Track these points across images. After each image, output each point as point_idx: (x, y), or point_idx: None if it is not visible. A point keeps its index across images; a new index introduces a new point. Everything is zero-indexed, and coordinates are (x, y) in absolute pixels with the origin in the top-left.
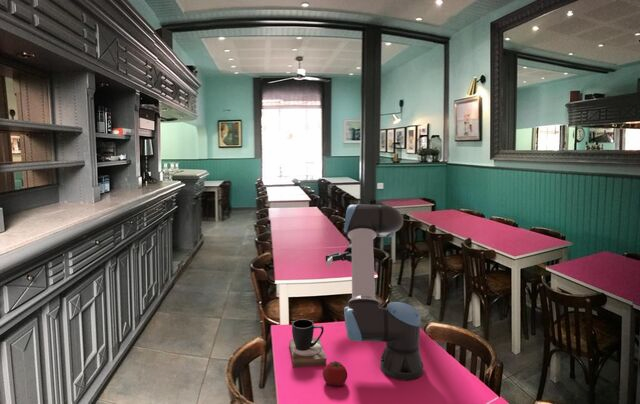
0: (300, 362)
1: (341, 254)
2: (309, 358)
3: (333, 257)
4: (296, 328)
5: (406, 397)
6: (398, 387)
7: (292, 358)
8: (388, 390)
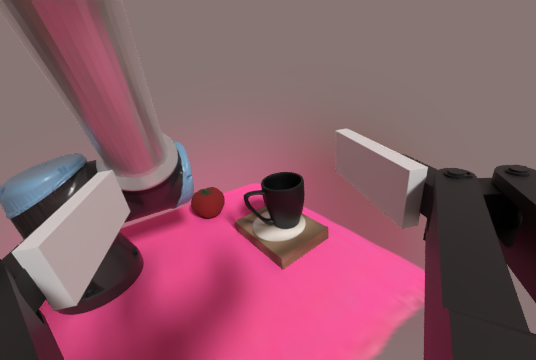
0: None
1: (469, 317)
2: (259, 211)
3: (434, 205)
4: (283, 173)
5: None
6: None
7: None
8: (138, 230)
